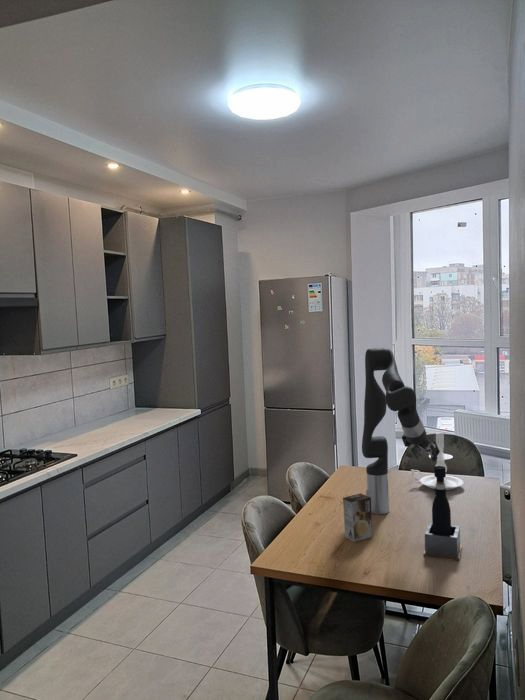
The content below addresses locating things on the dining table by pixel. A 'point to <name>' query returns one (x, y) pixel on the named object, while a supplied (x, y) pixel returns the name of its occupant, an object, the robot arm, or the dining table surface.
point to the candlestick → (448, 480)
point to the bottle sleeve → (443, 544)
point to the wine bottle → (441, 505)
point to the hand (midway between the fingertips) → (425, 456)
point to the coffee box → (357, 517)
